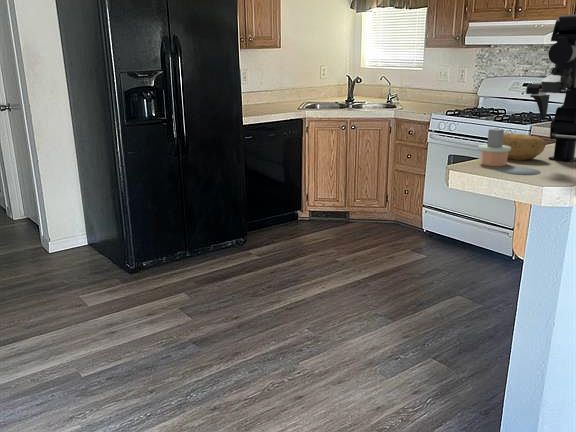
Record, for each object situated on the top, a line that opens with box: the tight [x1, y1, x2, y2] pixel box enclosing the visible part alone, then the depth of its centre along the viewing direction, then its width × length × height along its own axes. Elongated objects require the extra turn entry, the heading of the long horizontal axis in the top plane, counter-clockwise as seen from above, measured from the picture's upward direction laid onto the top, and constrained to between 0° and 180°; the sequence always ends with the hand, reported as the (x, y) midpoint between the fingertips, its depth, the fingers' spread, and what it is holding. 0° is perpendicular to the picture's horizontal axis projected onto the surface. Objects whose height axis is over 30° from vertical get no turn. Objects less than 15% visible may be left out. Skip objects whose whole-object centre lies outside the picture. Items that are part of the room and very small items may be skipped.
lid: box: [477, 128, 511, 152], centre depth 161 cm, size 9×9×6 cm
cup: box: [479, 150, 509, 167], centre depth 163 cm, size 7×7×4 cm
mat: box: [497, 166, 542, 176], centre depth 153 cm, size 11×11×1 cm
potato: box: [502, 132, 546, 161], centre depth 169 cm, size 10×14×8 cm
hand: (559, 121), depth 155 cm, fingers open, 9 cm apart
